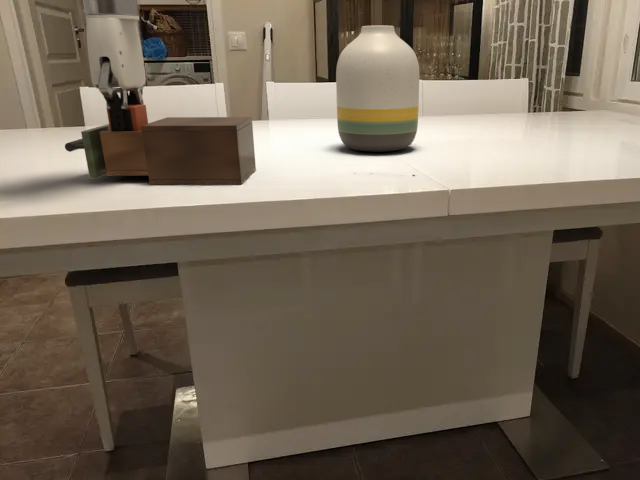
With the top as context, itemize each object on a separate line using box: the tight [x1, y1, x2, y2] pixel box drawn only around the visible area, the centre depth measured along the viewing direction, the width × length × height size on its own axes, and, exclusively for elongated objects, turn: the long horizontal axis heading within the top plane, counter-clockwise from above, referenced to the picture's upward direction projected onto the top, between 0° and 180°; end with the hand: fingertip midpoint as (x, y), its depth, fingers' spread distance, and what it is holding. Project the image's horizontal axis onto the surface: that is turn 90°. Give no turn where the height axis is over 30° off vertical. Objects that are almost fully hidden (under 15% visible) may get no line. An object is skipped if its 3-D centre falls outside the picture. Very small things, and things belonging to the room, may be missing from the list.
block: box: [106, 104, 149, 131], centre depth 90 cm, size 4×4×4 cm
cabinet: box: [141, 116, 257, 186], centre depth 91 cm, size 15×12×9 cm
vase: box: [335, 25, 420, 153], centre depth 114 cm, size 17×17×24 cm
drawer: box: [64, 123, 148, 179], centre depth 92 cm, size 18×10×7 cm, turn 89°
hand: (130, 132), depth 90 cm, fingers closed on block, 4 cm apart
